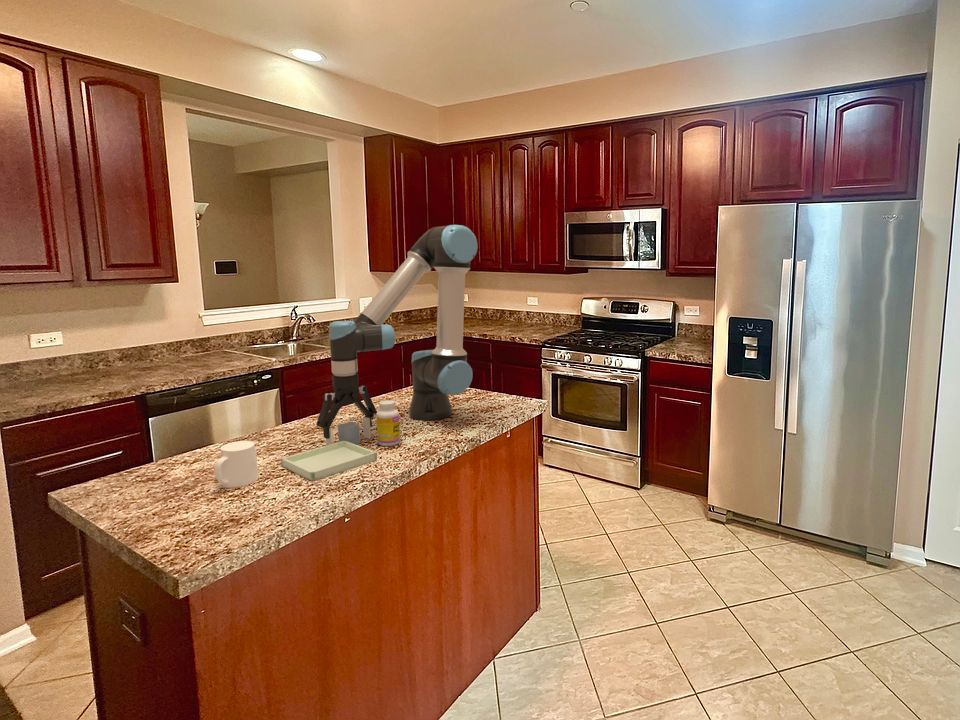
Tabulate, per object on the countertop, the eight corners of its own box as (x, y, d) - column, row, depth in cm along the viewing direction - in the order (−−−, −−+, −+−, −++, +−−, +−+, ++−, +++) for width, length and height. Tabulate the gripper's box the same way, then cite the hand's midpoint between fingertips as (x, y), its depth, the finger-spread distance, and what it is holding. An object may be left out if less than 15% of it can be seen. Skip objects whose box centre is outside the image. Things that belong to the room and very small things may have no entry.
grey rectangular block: (351, 440, 177) (350, 421, 176) (360, 443, 174) (358, 424, 173) (339, 444, 174) (337, 424, 173) (347, 447, 171) (346, 427, 170)
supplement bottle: (395, 447, 169) (393, 405, 167) (374, 446, 171) (372, 404, 168) (403, 440, 176) (401, 399, 173) (382, 439, 177) (380, 398, 175)
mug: (240, 438, 151) (263, 441, 148) (243, 472, 153) (266, 476, 149) (202, 453, 140) (226, 457, 137) (206, 489, 142) (230, 494, 139)
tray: (344, 447, 170) (344, 440, 170) (377, 459, 159) (376, 452, 159) (281, 466, 156) (280, 458, 156) (312, 481, 145) (311, 473, 145)
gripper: (371, 365, 181) (375, 431, 185) (300, 378, 164) (306, 450, 168) (386, 368, 176) (389, 435, 180) (314, 382, 158) (319, 456, 162)
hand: (349, 443), depth 174 cm, fingers open, 12 cm apart
